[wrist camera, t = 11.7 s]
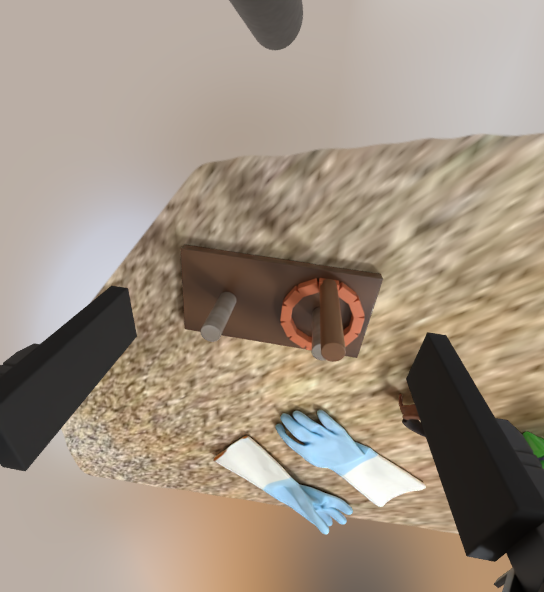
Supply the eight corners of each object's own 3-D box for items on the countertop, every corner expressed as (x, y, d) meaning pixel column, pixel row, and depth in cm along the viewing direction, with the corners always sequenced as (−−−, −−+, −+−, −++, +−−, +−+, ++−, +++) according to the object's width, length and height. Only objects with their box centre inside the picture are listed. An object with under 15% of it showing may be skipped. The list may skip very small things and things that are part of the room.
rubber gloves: (305, 393, 50) (304, 426, 45) (426, 483, 58) (437, 521, 53) (214, 454, 63) (204, 486, 57) (324, 522, 71) (324, 556, 65)
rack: (184, 244, 40) (150, 274, 32) (381, 273, 38) (398, 313, 30) (188, 323, 46) (160, 365, 38) (356, 351, 45) (364, 401, 37)
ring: (287, 269, 38) (275, 332, 26) (372, 282, 37) (398, 353, 26) (277, 338, 44) (263, 415, 32) (351, 351, 43) (364, 434, 31)
